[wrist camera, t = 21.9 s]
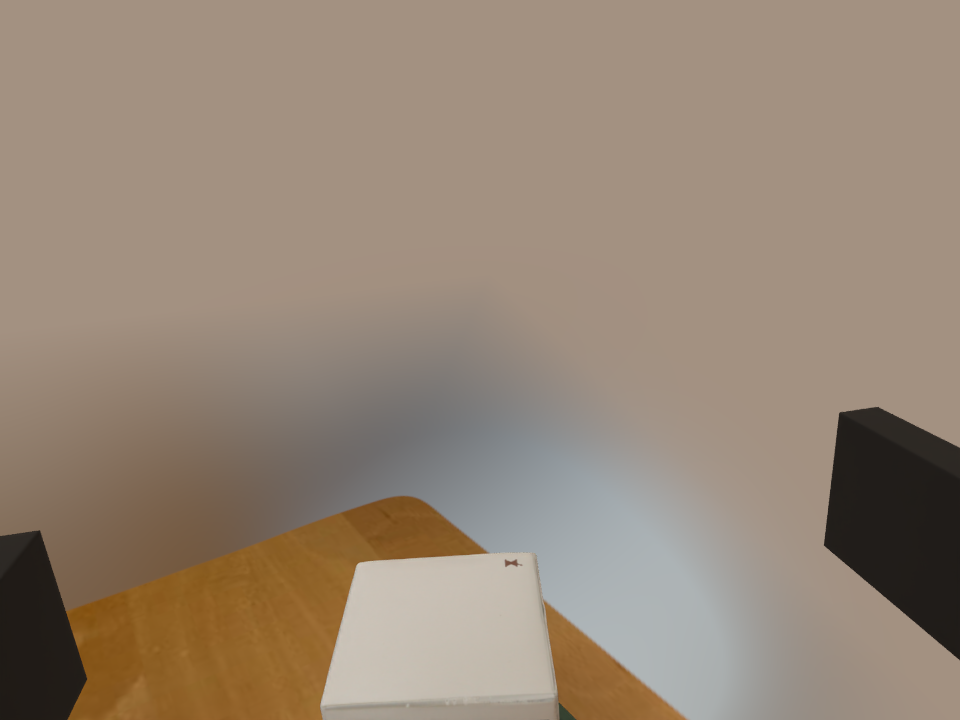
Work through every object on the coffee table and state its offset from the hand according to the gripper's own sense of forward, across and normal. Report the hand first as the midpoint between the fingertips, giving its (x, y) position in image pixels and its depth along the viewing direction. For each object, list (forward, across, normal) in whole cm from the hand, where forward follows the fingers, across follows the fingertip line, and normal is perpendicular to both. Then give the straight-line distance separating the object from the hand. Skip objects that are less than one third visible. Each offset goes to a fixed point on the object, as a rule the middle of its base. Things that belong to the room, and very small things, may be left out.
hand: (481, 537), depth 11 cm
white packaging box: (+10, 0, -22) cm, 24 cm away
